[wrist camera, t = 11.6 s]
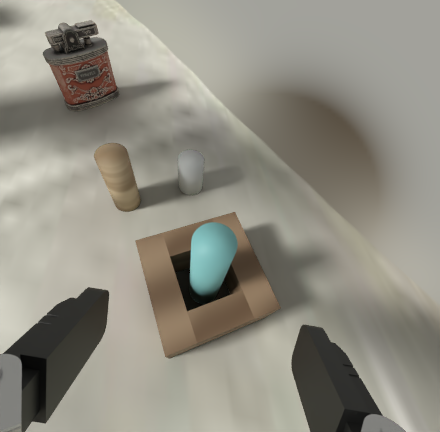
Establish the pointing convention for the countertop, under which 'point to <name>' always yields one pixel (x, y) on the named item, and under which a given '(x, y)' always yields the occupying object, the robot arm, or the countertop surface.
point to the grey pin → (190, 171)
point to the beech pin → (118, 175)
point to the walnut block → (212, 312)
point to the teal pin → (210, 260)
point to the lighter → (81, 65)
